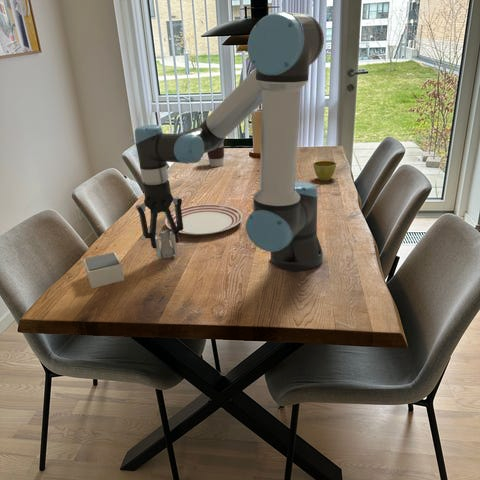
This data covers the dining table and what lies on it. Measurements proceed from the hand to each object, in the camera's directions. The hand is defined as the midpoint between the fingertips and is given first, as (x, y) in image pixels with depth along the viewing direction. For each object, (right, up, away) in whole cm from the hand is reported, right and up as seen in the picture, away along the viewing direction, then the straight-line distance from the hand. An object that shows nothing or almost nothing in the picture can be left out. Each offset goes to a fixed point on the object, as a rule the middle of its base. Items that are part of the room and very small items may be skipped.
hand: (167, 254), depth 140 cm
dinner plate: (+10, +9, +24) cm, 28 cm away
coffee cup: (+10, +43, +100) cm, 110 cm away
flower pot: (+60, +32, +66) cm, 95 cm away
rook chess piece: (0, -1, 0) cm, 1 cm away
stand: (-16, -6, -9) cm, 19 cm away
